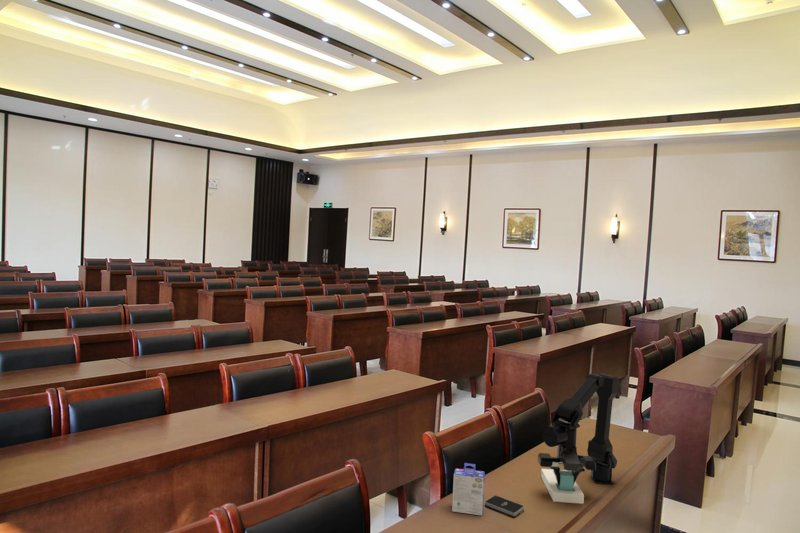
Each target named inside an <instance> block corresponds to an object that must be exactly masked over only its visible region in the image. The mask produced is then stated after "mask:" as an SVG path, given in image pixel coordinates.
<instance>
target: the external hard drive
mask: <svg viewBox="0 0 800 533" xmlns="http://www.w3.org/2000/svg"><path fill="white" fill-rule="evenodd" d="M484 507H485V508H487V509H490V510H492V511H495V512H498V513H500V514H502V515H505V516H507V517H509V518H513V519H515V518H517V517H518V516H520V514H522V513H523V512H524V511H525V506H524V505H523V504H520V503H518V502H514V501H512V500H509V499H507V498H504V497H502V496H499V495H497V494H496V495H495V494H494V495H493V496H490V497H489V498H488V499H486V500H485V501H484Z"/></svg>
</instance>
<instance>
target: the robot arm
mask: <svg viewBox="0 0 800 533" xmlns="http://www.w3.org/2000/svg"><path fill="white" fill-rule="evenodd" d="M620 386H621V382H620V380H619V378H618V377H617V376H613V375H610V374H605V373H601V372H600V373H599V374H595V373H588V374H587V376H586V379H584V381H583V383H582V384H581V385H580V386H579V388H578V389H577V390H576V392H575V393H574V394H572V396H571V397H570V398H567V399H565V400H563V401H562V402H561V403H560V404H559V405H558V406H557V408H556V409H555V412H554V413H553V414H554V415H553V416H552V419H551V421H550V423H551V424H550V425H548V427H547V428H548V429H546V430H544V432H543V433H542V439H543V442H544V444H545V445H546V446H547V447H550V448H554V447H557V448H558V458H557V456H556V457H554V456H551V455H550V454H551V453H546V452H539V453H538V455H537V462H538V464H539V466H540V467H544V468H549V469H553V470H554V473H555V477H556V480H557V484H558V486H560V473H559V472H560V470H561V468H560V465H561V464H562V465H563V468H564V470H567V471H571V473H572V474H573V476H574V481H573V485H574V483H575V482H576V480H577V478H578V477H579V475H580V474H581V473H582V472H585V471H586V470H587V471H590V477H591V479H592V480H593V481H594V483H596V484H607V485H614V482H613V481H612V478H613V477H612V476H613V469H616V467H617V465H618V464H617V463H618V460H617V458H616V456H615V455H614V453H613V452H614V450H613V445H612V443H611V440H610V430H611V422H612V421H611V418H612V410H613V402H614V401H613V400H614V398H616V396H617V395H618V394H619V389H620ZM595 393H596V395H597V398H598V399H597V400H598V402H597V412H596V421H595V430H594V436H593V437H592V439H590V440H588V442H587V443H588V444H587V449H586V450H587V455H580V454H578V452H577V451H578V450H577V448H578V447H577V430H578V429H577V428H580V427H581V424H579V423H580V421H581V419H582V417H583V414H584V408H585V406H586V405H587V403H588V402H589V401H590V400H591V398H592V397H593V396H594V394H595ZM558 445H559V446H558Z"/></svg>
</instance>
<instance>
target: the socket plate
mask: <svg viewBox="0 0 800 533" xmlns="http://www.w3.org/2000/svg"><path fill="white" fill-rule="evenodd" d="M561 470H562V471H567V470H565V469H564V470H563V469H561ZM540 471H541V472H540V477H541V479H542V481H543V484H544V486H545V487H546V489H547V492H548V493H549V495H550V498H551V499H552V502H554V503H556V502H557V503H569V504H579V505H580V504H581V505H583V504H584V502H585V500H584V499H585V494H584V493H583V491H582V490H581V488H580V486H579V484H578V483H577V482H576V481H575V483H574V485H573V491H562V490H559V489H558V484H557V480H556V477H555V473H554V470H553V469H551V468H541V470H540Z"/></svg>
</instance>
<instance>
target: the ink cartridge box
mask: <svg viewBox="0 0 800 533" xmlns="http://www.w3.org/2000/svg"><path fill="white" fill-rule="evenodd" d="M463 464H464V466H463V468H455V469H454V473H453V478H452V479H453V480H452V481H453V483H452V501H451V502H452V503H451V505H452V507H451V512H454V513H461V514H467V515H476V516H483V514H484V506H485V501H484V500H485V483H486V482H485V479H486V476H485V475H486V474H485V473H486V472H485V471H483V470H476V464H475V463H469V462H464V463H463ZM468 467H469V468H468ZM470 467H471V468H470Z"/></svg>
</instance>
